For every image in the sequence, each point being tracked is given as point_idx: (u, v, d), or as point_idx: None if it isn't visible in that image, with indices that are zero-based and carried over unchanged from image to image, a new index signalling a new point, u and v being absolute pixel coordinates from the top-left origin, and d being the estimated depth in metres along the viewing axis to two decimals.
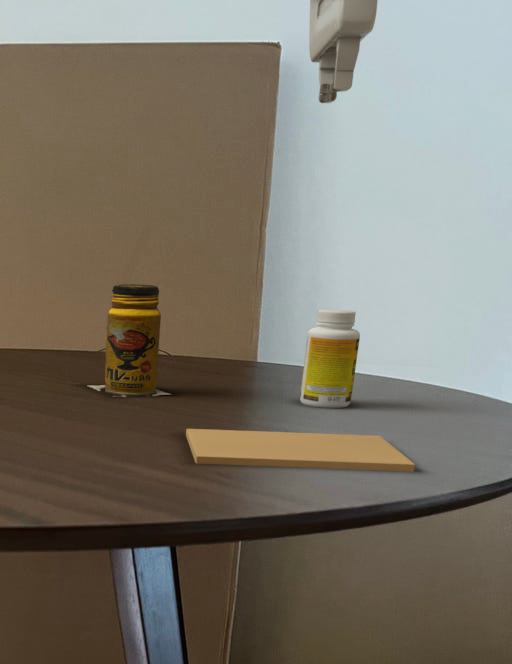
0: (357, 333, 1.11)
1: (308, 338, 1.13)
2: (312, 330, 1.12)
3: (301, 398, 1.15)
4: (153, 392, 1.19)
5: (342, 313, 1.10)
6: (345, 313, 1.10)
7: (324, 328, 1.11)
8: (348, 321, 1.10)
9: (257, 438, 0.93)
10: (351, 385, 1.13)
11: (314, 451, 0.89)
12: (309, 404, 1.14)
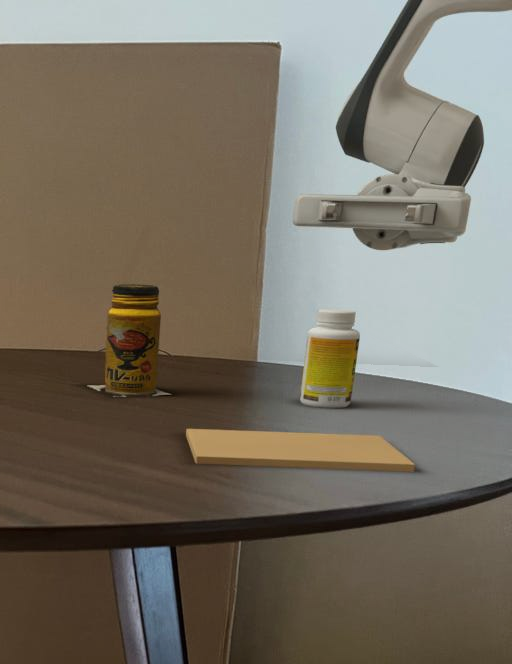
0: (357, 333, 1.11)
1: (308, 338, 1.13)
2: (312, 330, 1.12)
3: (301, 398, 1.15)
4: (153, 392, 1.19)
5: (342, 313, 1.10)
6: (345, 313, 1.10)
7: (324, 328, 1.11)
8: (348, 321, 1.10)
9: (257, 438, 0.93)
10: (351, 385, 1.13)
11: (314, 451, 0.89)
12: (309, 404, 1.14)
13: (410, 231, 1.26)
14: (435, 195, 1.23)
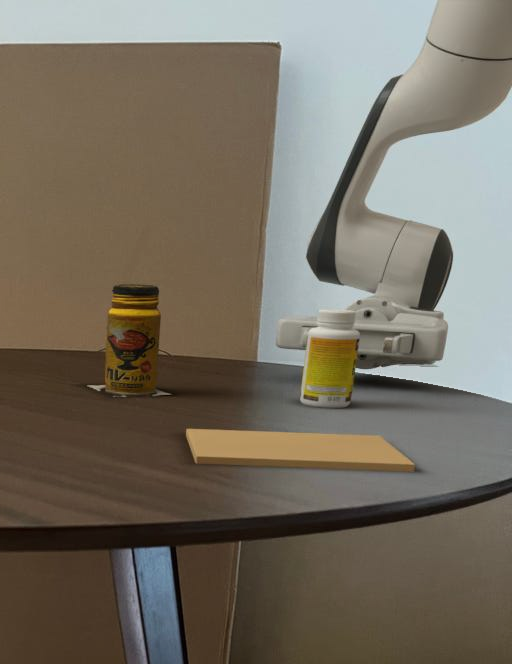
0: (357, 333, 1.11)
1: (308, 338, 1.13)
2: (312, 330, 1.12)
3: (301, 398, 1.15)
4: (153, 392, 1.19)
5: (342, 313, 1.10)
6: (345, 313, 1.10)
7: (324, 328, 1.11)
8: (348, 321, 1.10)
9: (257, 438, 0.93)
10: (351, 385, 1.13)
11: (314, 451, 0.89)
12: (309, 404, 1.14)
13: None
14: (414, 321, 1.27)
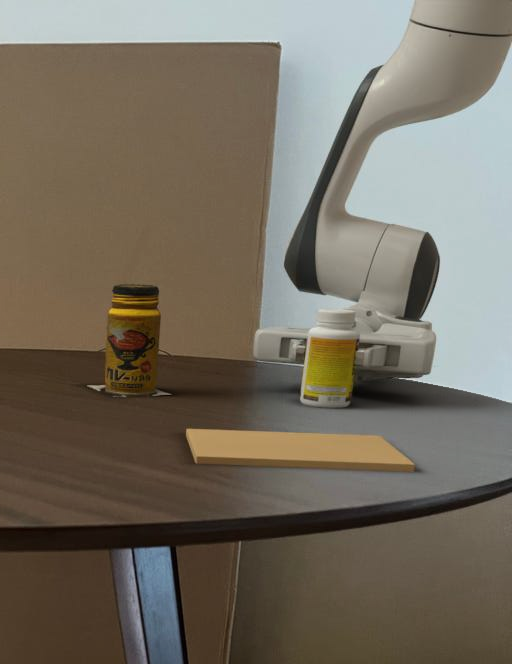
0: (357, 333, 1.11)
1: (308, 338, 1.13)
2: (312, 330, 1.12)
3: (301, 398, 1.15)
4: (153, 392, 1.19)
5: (342, 313, 1.10)
6: (345, 313, 1.10)
7: (324, 328, 1.11)
8: (348, 321, 1.10)
9: (257, 438, 0.93)
10: (351, 385, 1.13)
11: (314, 451, 0.89)
12: (309, 404, 1.14)
13: None
14: (400, 332, 1.18)
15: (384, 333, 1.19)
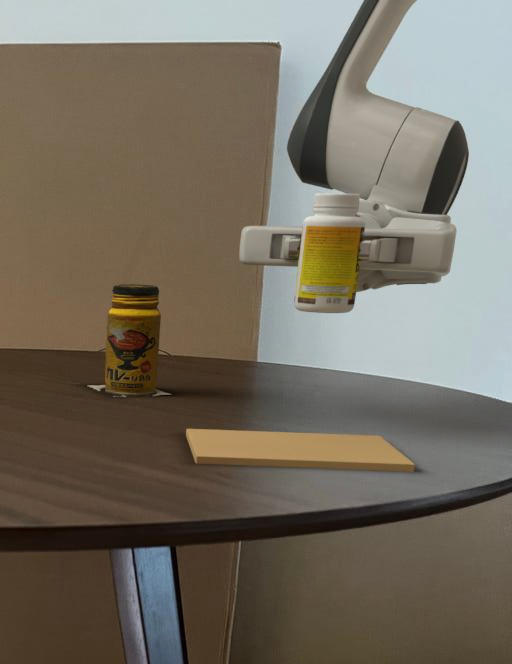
0: (362, 220, 0.93)
1: (303, 228, 0.94)
2: (308, 218, 0.94)
3: (295, 302, 0.97)
4: (153, 392, 1.19)
5: (344, 195, 0.92)
6: (347, 195, 0.92)
7: (322, 214, 0.93)
8: (350, 205, 0.92)
9: (257, 438, 0.93)
10: (355, 285, 0.95)
11: (314, 451, 0.89)
12: (304, 308, 0.96)
13: (383, 270, 1.02)
14: (413, 226, 1.00)
15: (394, 228, 1.00)
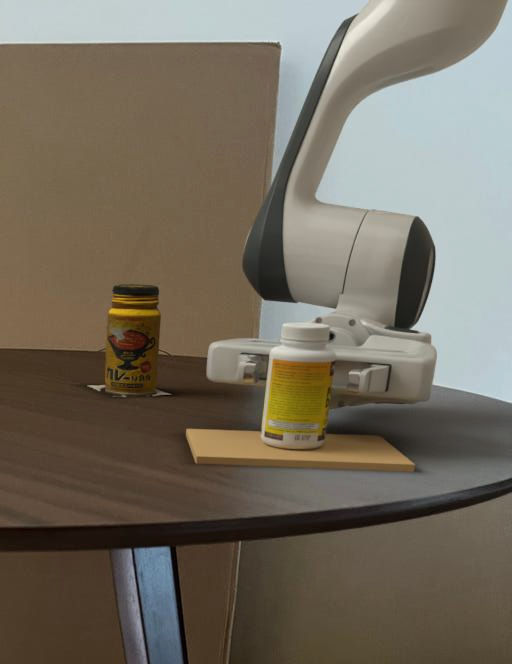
0: (332, 354, 0.86)
1: (270, 360, 0.88)
2: (274, 350, 0.87)
3: (262, 435, 0.91)
4: (153, 392, 1.19)
5: (312, 328, 0.85)
6: (316, 328, 0.85)
7: (290, 347, 0.87)
8: (320, 338, 0.86)
9: (257, 438, 0.93)
10: (325, 420, 0.88)
11: (314, 451, 0.89)
12: (271, 444, 0.89)
13: None
14: (391, 346, 0.93)
15: (371, 347, 0.94)
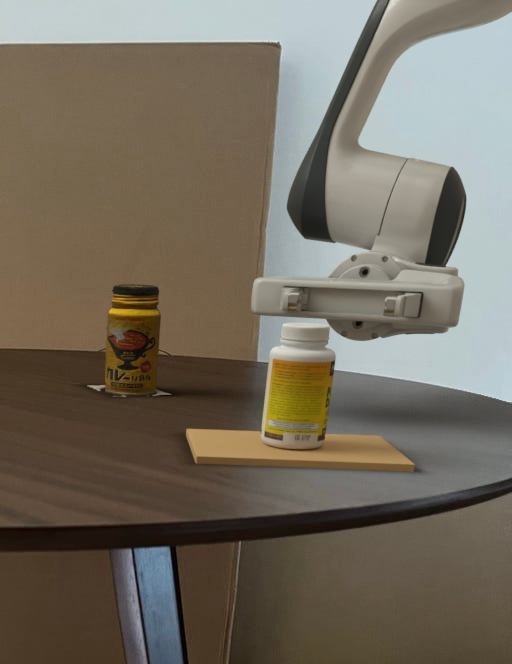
0: (332, 354, 0.86)
1: (270, 360, 0.88)
2: (274, 350, 0.87)
3: (262, 436, 0.91)
4: (153, 392, 1.19)
5: (312, 328, 0.85)
6: (316, 328, 0.85)
7: (290, 347, 0.87)
8: (320, 338, 0.86)
9: (257, 438, 0.93)
10: (325, 420, 0.88)
11: (314, 451, 0.89)
12: (271, 444, 0.89)
13: None
14: (421, 279, 1.02)
15: (403, 281, 1.03)
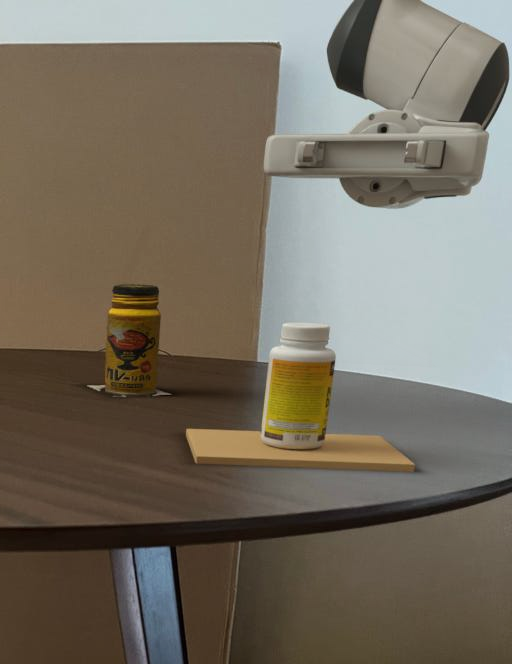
0: (332, 354, 0.86)
1: (270, 360, 0.88)
2: (274, 350, 0.87)
3: (262, 436, 0.91)
4: (153, 392, 1.19)
5: (312, 328, 0.85)
6: (316, 328, 0.85)
7: (290, 347, 0.87)
8: (320, 338, 0.86)
9: (257, 438, 0.93)
10: (325, 420, 0.88)
11: (314, 451, 0.89)
12: (271, 444, 0.89)
13: (412, 181, 1.00)
14: None
15: None
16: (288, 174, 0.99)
